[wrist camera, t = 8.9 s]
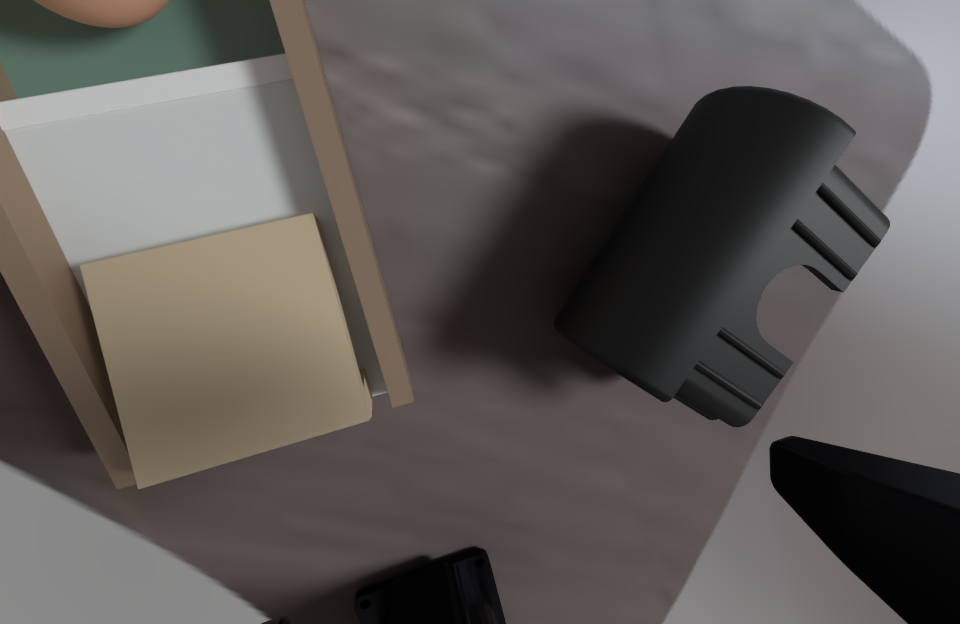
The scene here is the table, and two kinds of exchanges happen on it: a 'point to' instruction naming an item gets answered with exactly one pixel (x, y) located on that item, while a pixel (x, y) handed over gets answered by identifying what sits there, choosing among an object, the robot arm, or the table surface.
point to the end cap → (722, 250)
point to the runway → (189, 233)
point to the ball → (106, 11)
